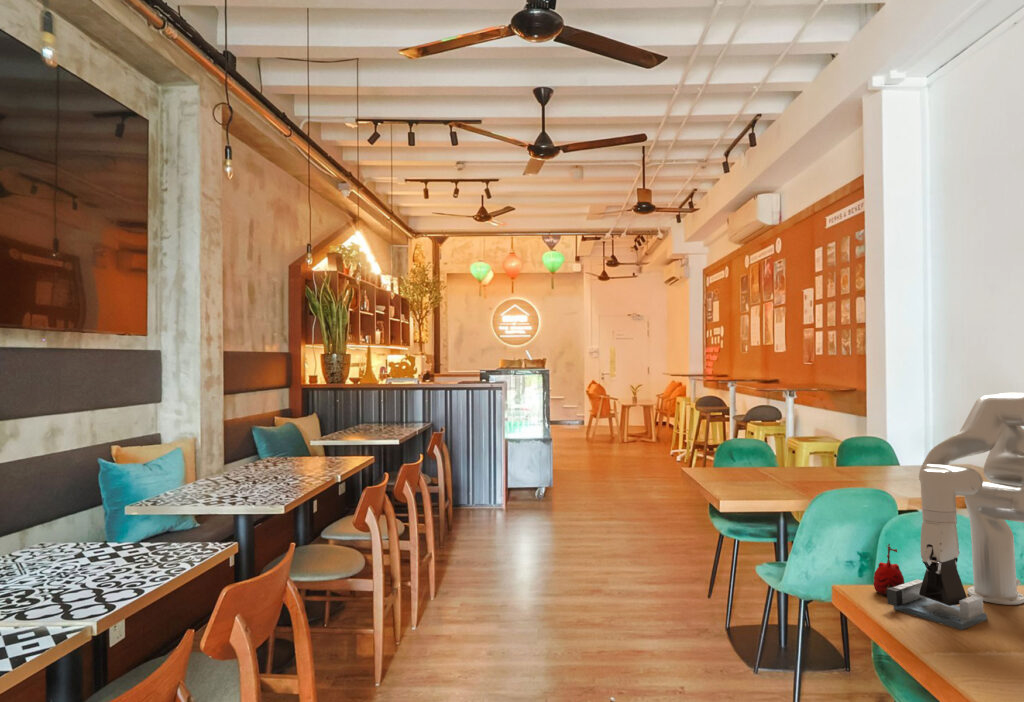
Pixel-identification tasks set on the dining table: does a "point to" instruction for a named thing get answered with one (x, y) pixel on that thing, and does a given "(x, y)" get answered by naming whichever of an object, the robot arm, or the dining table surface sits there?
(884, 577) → the red clay folk toy
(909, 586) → the block
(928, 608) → the dark grey base plate
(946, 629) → the dining table surface
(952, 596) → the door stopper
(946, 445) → the robot arm
